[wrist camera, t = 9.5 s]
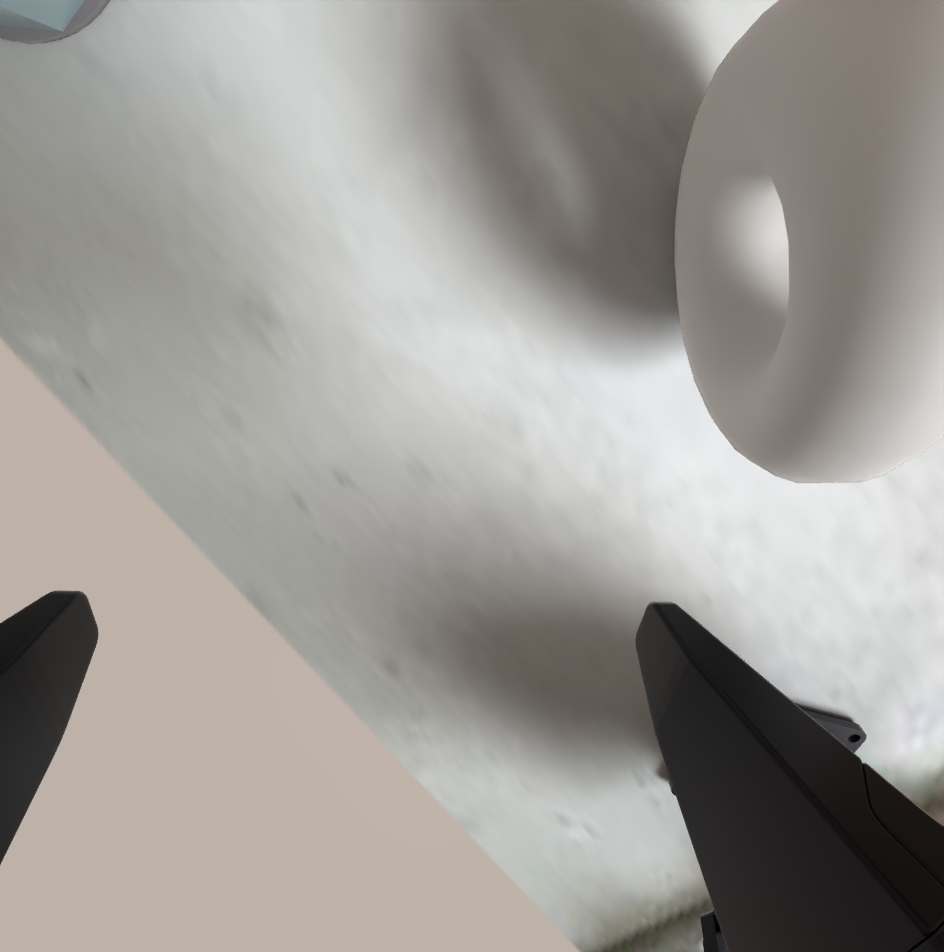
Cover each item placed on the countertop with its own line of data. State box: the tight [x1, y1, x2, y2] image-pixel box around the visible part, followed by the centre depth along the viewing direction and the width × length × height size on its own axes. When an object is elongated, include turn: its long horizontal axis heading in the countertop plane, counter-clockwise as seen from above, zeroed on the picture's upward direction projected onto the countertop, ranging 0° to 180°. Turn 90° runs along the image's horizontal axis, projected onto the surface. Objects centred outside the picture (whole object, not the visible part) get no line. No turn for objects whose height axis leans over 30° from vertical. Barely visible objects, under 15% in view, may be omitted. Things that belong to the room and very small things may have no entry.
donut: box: [674, 0, 944, 483], centre depth 13 cm, size 10×3×10 cm, turn 10°
